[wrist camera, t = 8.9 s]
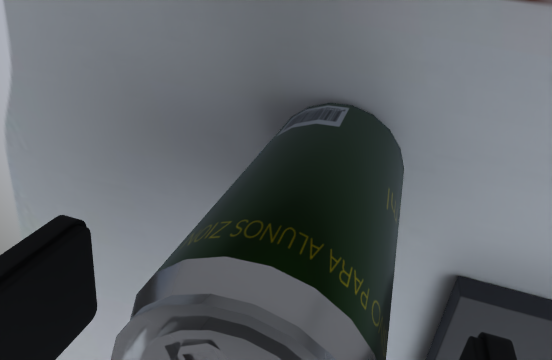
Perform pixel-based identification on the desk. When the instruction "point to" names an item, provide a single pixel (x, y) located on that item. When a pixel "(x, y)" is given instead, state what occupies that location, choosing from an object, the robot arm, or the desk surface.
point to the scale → (493, 321)
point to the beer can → (285, 254)
